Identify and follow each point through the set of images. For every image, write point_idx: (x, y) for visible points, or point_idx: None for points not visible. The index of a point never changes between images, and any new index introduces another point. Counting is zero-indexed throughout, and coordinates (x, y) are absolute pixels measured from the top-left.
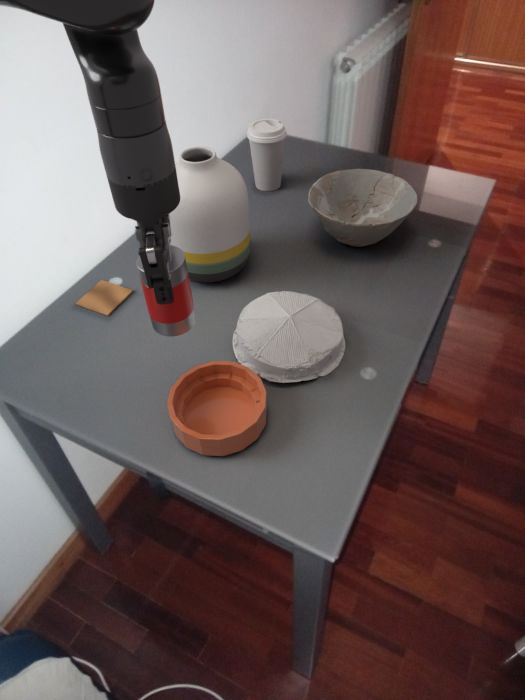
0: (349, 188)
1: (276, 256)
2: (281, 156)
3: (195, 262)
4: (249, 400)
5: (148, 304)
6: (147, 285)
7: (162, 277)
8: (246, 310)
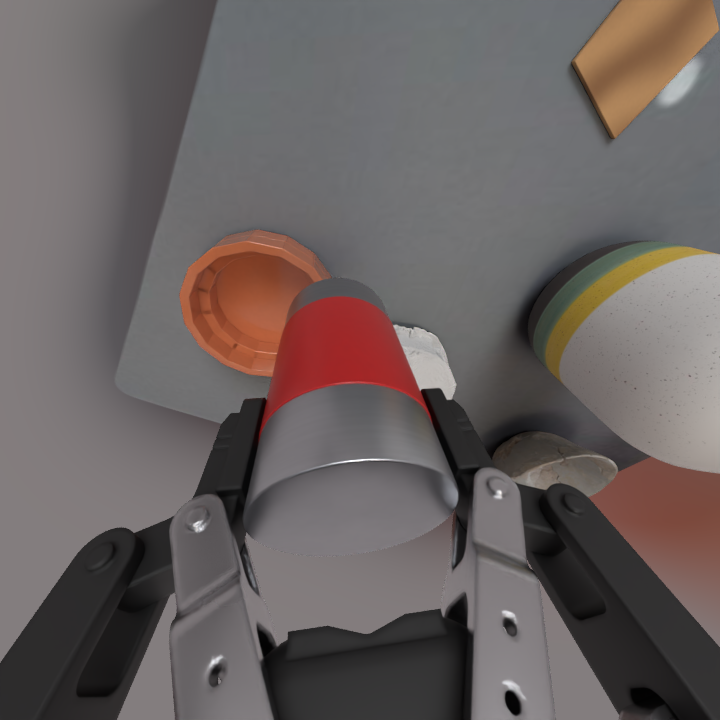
0: (580, 469)
1: (536, 378)
2: None
3: (573, 305)
4: None
5: (297, 337)
6: (86, 555)
7: (131, 611)
8: (430, 362)
